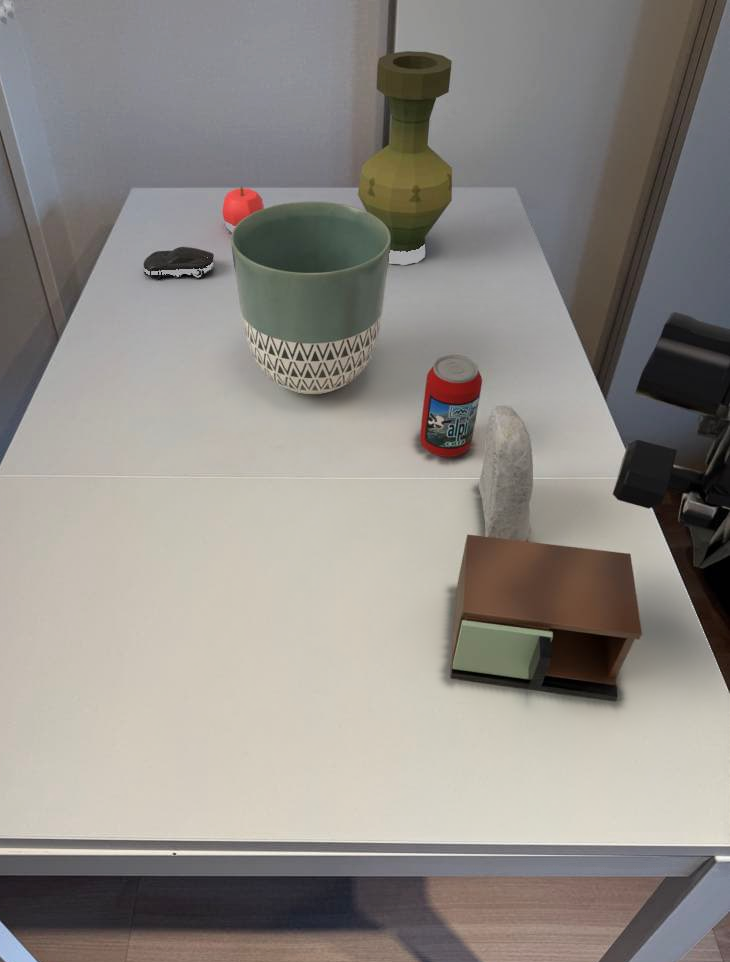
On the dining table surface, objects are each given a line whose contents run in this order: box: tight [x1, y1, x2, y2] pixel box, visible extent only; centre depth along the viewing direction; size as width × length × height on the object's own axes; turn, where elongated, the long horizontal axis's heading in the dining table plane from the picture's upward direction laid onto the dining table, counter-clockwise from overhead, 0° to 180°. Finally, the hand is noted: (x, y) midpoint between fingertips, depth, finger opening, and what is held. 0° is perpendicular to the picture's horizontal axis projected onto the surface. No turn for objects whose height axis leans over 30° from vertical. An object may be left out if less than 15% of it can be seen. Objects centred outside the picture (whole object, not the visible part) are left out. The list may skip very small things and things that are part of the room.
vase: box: [357, 50, 453, 252], centre depth 127 cm, size 16×16×30 cm
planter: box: [230, 200, 391, 395], centre depth 103 cm, size 20×20×21 cm
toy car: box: [143, 246, 215, 280], centre depth 131 cm, size 6×12×4 cm, turn 93°
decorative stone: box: [478, 404, 534, 542], centre depth 86 cm, size 11×6×15 cm, turn 0°
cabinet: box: [450, 534, 643, 702], centre depth 76 cm, size 16×11×9 cm
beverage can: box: [419, 354, 483, 458], centre depth 97 cm, size 7×7×12 cm
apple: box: [222, 186, 265, 226], centre depth 141 cm, size 8×8×8 cm
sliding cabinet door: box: [453, 620, 553, 691], centre depth 72 cm, size 8×3×7 cm, turn 81°
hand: (698, 563), depth 71 cm, fingers closed
